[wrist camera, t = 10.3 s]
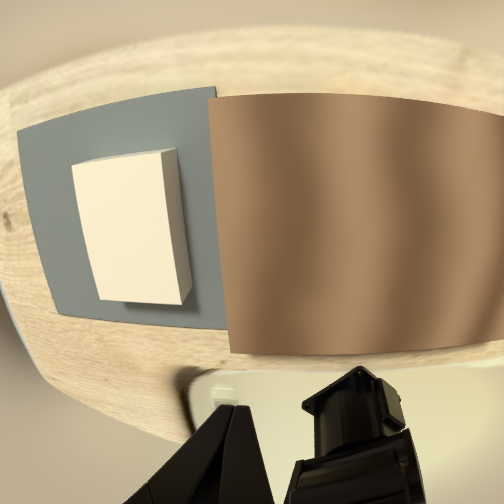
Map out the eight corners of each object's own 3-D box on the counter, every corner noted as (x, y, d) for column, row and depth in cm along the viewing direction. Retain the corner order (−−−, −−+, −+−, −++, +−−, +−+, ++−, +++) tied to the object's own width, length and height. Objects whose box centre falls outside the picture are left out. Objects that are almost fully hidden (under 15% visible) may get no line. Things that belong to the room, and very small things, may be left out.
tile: (71, 165, 16) (93, 159, 19) (100, 299, 20) (116, 282, 22) (160, 152, 16) (176, 148, 18) (181, 304, 19) (192, 285, 21)
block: (522, 126, 14) (559, 132, 11) (492, 307, 20) (516, 337, 16) (224, 102, 17) (207, 98, 13) (240, 316, 22) (230, 353, 19)
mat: (215, 86, 17) (214, 86, 16) (234, 327, 23) (233, 329, 22) (19, 130, 19) (16, 131, 18) (60, 312, 25) (58, 314, 24)
